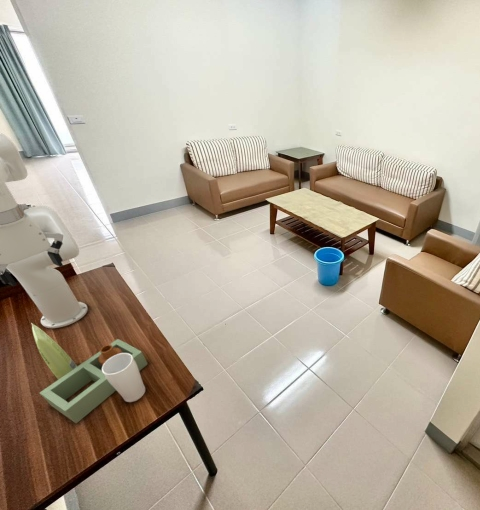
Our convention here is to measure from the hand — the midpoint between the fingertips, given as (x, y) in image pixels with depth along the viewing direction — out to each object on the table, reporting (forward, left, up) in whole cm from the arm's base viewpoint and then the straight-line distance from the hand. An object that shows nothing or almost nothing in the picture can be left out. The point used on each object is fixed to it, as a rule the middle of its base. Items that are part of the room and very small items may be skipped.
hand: (36, 273), depth 71 cm
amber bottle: (+16, 0, -32) cm, 36 cm away
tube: (+4, -7, -32) cm, 33 cm away
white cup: (+27, -3, -32) cm, 42 cm away
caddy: (+16, -5, -32) cm, 36 cm away
